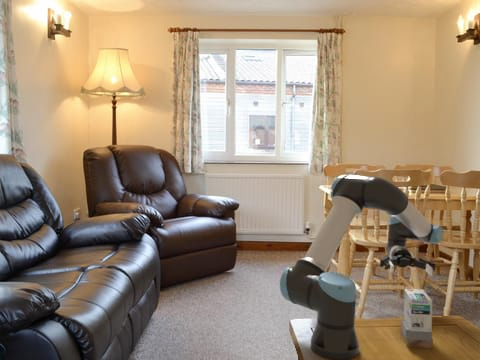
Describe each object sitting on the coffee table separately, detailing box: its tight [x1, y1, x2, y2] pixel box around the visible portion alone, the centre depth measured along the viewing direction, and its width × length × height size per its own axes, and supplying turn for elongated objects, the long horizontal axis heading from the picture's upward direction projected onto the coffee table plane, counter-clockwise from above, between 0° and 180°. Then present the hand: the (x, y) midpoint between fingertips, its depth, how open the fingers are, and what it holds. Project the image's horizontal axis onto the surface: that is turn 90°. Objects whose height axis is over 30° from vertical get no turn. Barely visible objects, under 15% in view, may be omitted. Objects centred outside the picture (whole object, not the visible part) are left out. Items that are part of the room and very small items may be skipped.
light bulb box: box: [403, 288, 433, 333], centre depth 149 cm, size 11×7×11 cm, turn 172°
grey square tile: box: [401, 319, 433, 341], centre depth 150 cm, size 8×8×3 cm
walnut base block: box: [400, 327, 434, 349], centre depth 151 cm, size 8×8×3 cm
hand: (411, 270), depth 165 cm, fingers open, 13 cm apart
